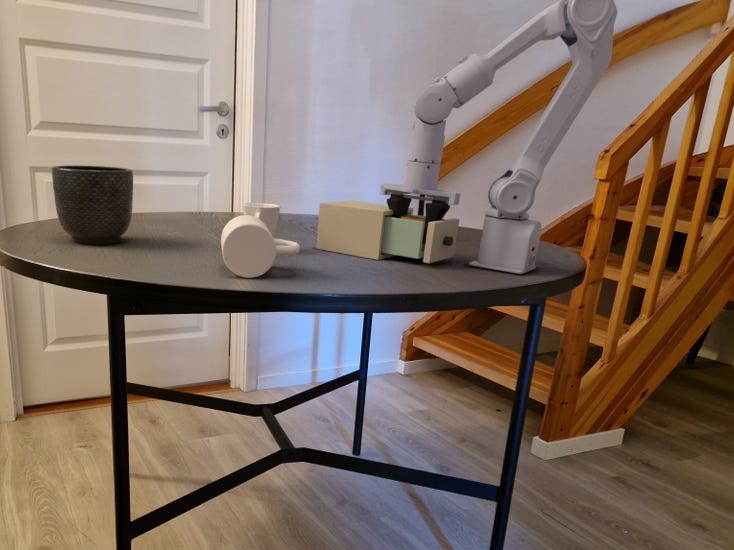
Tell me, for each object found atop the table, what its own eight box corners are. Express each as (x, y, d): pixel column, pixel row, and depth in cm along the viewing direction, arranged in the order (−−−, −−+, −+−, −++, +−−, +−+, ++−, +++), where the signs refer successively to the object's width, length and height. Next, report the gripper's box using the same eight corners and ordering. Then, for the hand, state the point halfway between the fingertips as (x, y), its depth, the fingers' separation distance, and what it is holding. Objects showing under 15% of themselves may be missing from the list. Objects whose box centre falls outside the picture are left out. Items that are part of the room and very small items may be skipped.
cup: (279, 247, 118) (282, 204, 115) (273, 256, 108) (276, 210, 105) (243, 244, 118) (245, 201, 115) (234, 253, 109) (236, 207, 106)
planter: (143, 237, 120) (142, 168, 115) (121, 250, 107) (118, 172, 102) (74, 233, 121) (70, 164, 116) (43, 244, 107) (37, 167, 103)
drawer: (460, 257, 112) (466, 219, 110) (435, 264, 105) (441, 224, 102) (393, 246, 120) (397, 211, 118) (366, 252, 112) (370, 214, 110)
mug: (221, 277, 91) (222, 222, 88) (220, 263, 100) (221, 213, 97) (301, 280, 92) (305, 225, 89) (293, 266, 101) (296, 217, 98)
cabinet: (407, 253, 119) (413, 207, 116) (378, 260, 111) (383, 211, 108) (348, 243, 127) (352, 200, 124) (316, 248, 118) (319, 203, 116)
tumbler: (430, 249, 113) (435, 219, 111) (417, 252, 109) (422, 220, 107) (404, 244, 115) (409, 215, 114) (391, 247, 111) (396, 216, 110)
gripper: (376, 157, 108) (365, 235, 113) (453, 166, 100) (439, 249, 105) (395, 158, 113) (384, 232, 118) (470, 166, 105) (455, 246, 110)
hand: (411, 240), depth 112 cm, fingers closed on tumbler, 5 cm apart
